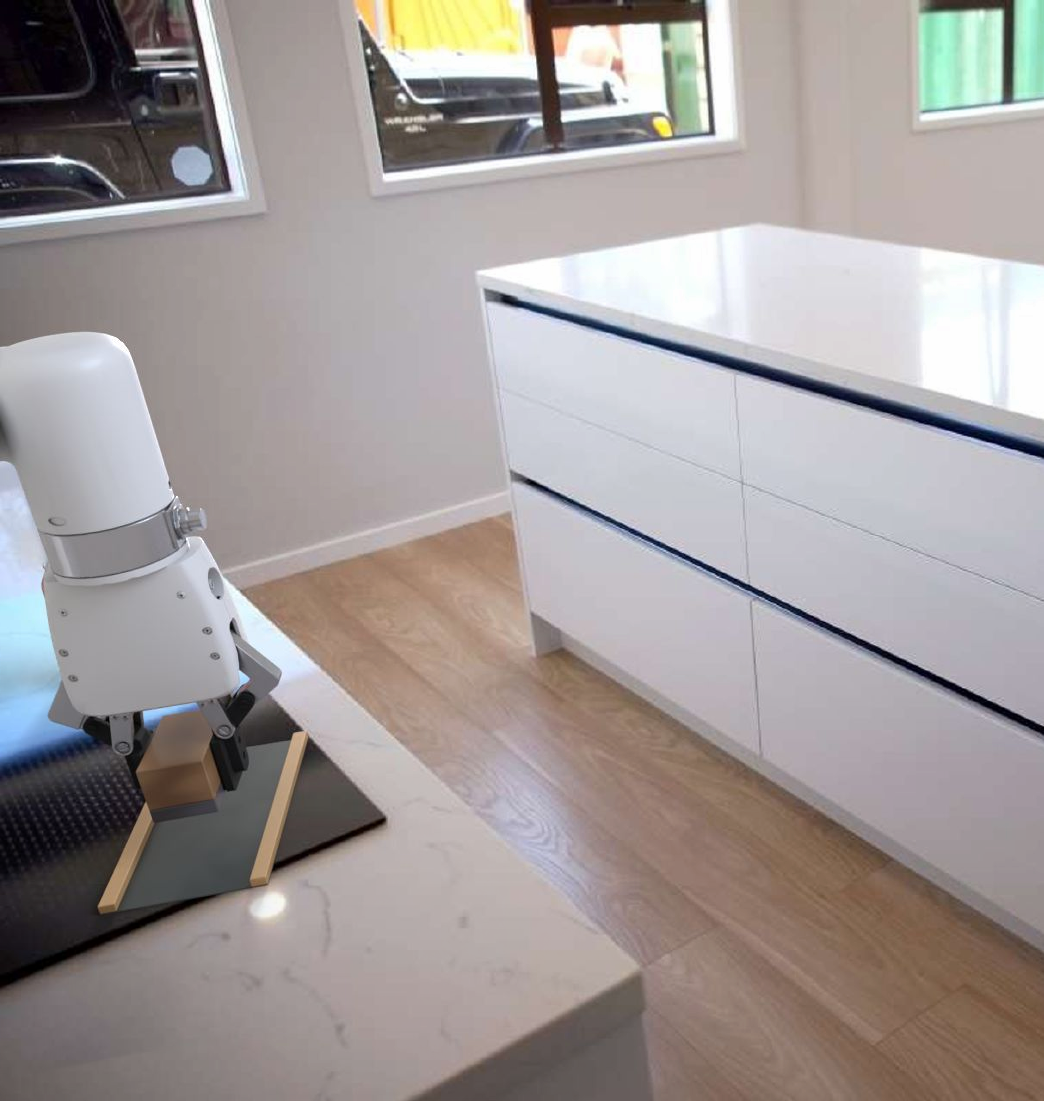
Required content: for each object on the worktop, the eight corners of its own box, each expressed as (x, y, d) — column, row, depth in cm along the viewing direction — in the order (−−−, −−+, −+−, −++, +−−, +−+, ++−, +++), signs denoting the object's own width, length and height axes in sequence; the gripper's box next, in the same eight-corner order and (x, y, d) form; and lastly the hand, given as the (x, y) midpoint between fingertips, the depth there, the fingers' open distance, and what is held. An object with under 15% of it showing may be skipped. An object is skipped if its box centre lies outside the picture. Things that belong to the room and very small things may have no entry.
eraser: (153, 823, 81) (134, 772, 79) (178, 764, 87) (162, 715, 85) (218, 812, 81) (202, 760, 80) (239, 754, 88) (224, 705, 86)
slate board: (105, 929, 79) (96, 907, 78) (174, 772, 95) (167, 752, 94) (272, 899, 81) (265, 876, 80) (312, 750, 97) (306, 730, 96)
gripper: (270, 497, 81) (334, 735, 89) (-11, 535, 78) (80, 778, 86) (249, 542, 75) (320, 795, 82) (-60, 585, 72) (44, 844, 79)
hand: (197, 783), depth 84 cm, fingers closed on eraser, 4 cm apart
